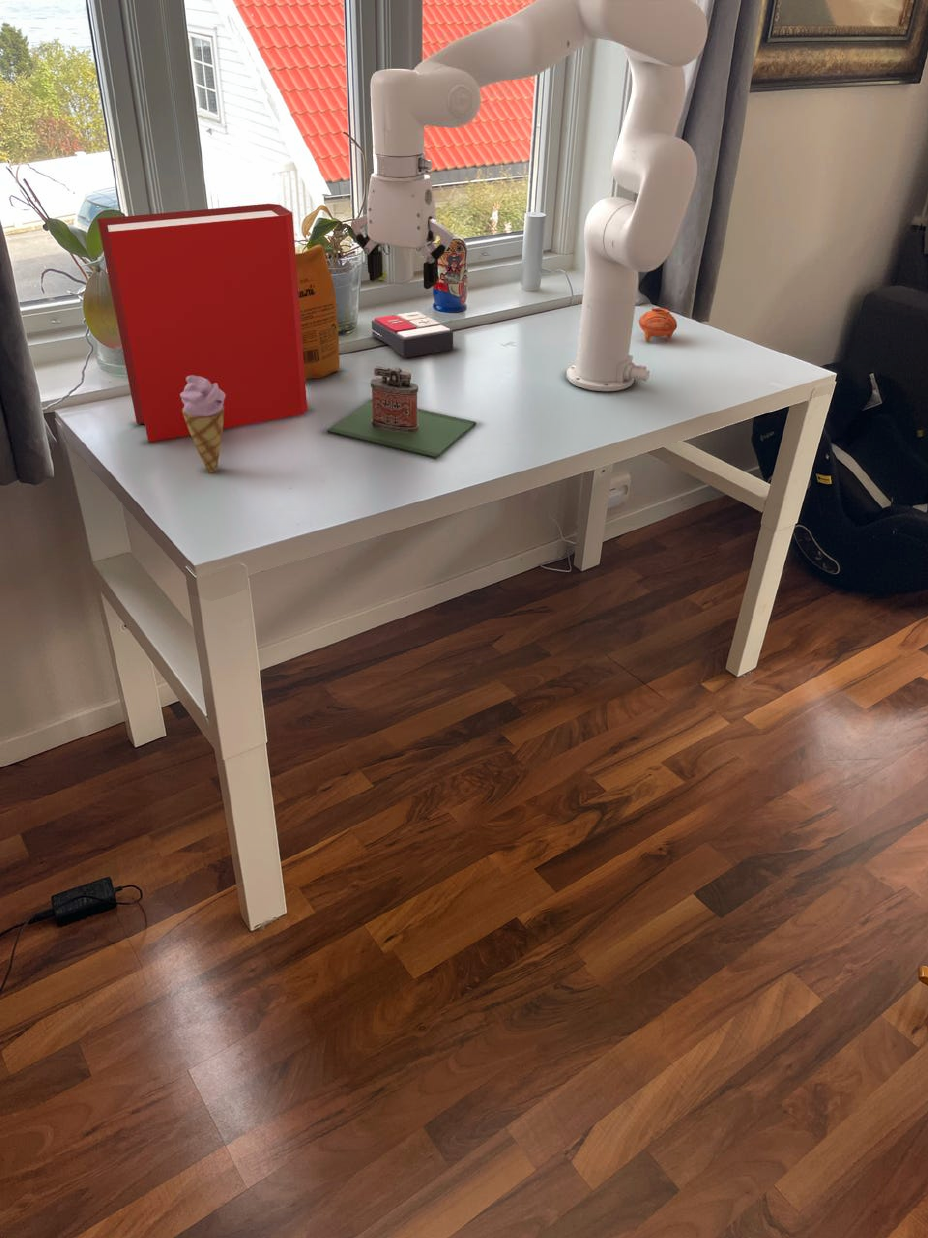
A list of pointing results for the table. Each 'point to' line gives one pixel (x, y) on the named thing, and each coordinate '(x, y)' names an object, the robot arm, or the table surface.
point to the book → (208, 312)
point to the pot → (657, 323)
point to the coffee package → (317, 314)
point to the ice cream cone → (204, 418)
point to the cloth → (427, 441)
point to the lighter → (394, 400)
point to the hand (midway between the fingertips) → (402, 282)
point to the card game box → (413, 334)
